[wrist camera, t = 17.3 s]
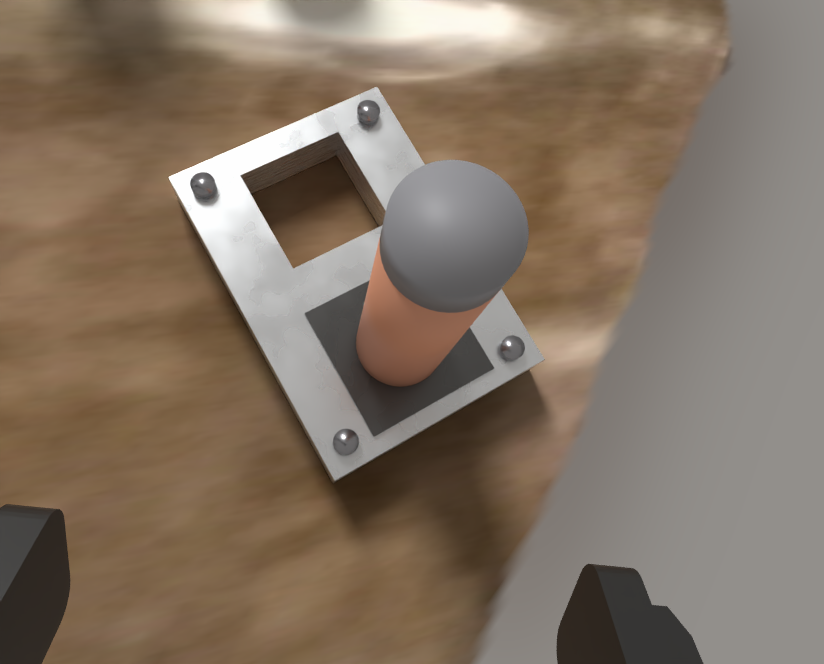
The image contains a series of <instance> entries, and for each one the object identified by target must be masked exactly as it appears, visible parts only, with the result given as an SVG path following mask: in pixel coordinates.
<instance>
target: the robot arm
mask: <svg viewBox="0 0 824 664" xmlns="http://www.w3.org/2000/svg"><path fill="white" fill-rule="evenodd" d="M69 591H70V571H69V561H68V551H67V541H66V531H65V522H64V515H63V513H62V511H61V510H60V509H51V508H41V507H31V506H21V505H10V504H6V505H4V506H2V507H1V508H0V664H42V662H43V660H44V657H45V655H46V653H47V651H48V649H49V647H50V645H51V642H52V640H53V638H54V636H55V634H56V632H57V630H58V627H59V625H60V623H61V621H62V618H63V615H64V612H65V609H66V606H67V602H68V597H69ZM557 660H558V664H703V662H702V659H701V657H700V655H699V652H698V650H697V648H696V645H695V643H694V640H693V638H692V636H691V635H690V634H689V632H688V631H687V630H686V629H685V628H684V626H683V625H682V624H681V623H680V621H679V620H678V619H677V618H676V617H675V615H674V614H673V613H672V612H671V611H670V609H669V608H668V607H667V606H656V605H652V604H651V601H650V599H649V596H648V594H647V591H646V589H645V586H644V584H643V581H642V578H641V576H640V575H639V573H638V572H637V571H636V570H635V569H633V568H625V567H615V566H605V565H595V564H587V565H586V566H585V567H584V568H583V569H582V572H581V574H580V576H579V579H578V581H577V584H576V586H575V589H574V591H573V593H572V596H571V598H570V601H569V603H568V605H567V608H566V610H565V613H564V616H563V618H562V620H561V623H560V626H559V629H558V635H557Z"/></svg>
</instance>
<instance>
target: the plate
mask: <svg viewBox="0 0 824 664" xmlns="http://www.w3.org/2000/svg"><path fill="white" fill-rule="evenodd" d="M334 156H337V157H338V159H339V160H340V162H341V164H342V165H343V167H344V169H345V170H346V172H347V174H348V176H349V177H350V179H351V181H352V182H353V184H354V186H355V187H356V189H357V191H358V192H359V194H360V196H361V197H362V199H363V201H364V202H365V204H366V206H367V208H368V209H369V211H370V213H371V214H372V216H373V218H374V219H375V221H376V223H377V224H378V226H379V227H378V228H376V229H374V230H372V231H370V232H368V233H366V234H364V235H362V236H360V237H358V238H355V239H353V240H351V241H349V242H347V243H345V244H343V245H341V246H339V247H337V248H335V249H333V250H331V251H329V252H327V253H325V254H323V255H321V256H319V257H317V258H315V259H312V260H310V261H308V262H306V263H304V264H302V265H300V266H298V267H296V268H294V269H293V268H292V266H291V264H290V263H289V261H288V259H287V257H286V256H285V254H284V252H283V250H282V248H281V247H280V245H279V243H278V241H277V240H276V238H275V236H274V234H273V233H272V231H271V229H270V227H269V226H268V224H267V222H266V220H265V218H264V217H263V215H262V213H261V211H260V210H259V208H258V206H257V204H256V203H255V201H254V199H253V197H252V195H251V194H253V193H255V192H257V191H259V190H262V189H264V188H266V187H268V186H270V185H273V184H275V183H277V182H279V181H281V180H284V179H286V178H288V177H290V176H292V175H295V174H297V173H299V172H301V171H304V170H306V169H308V168H310V167H312V166H315V165H317V164H319V163H321V162H323V161H326V160H328V159H330V158H332V157H334ZM424 165H425V164H424V162H423V161H422V159H421V158H420V156H419V154H418V153H417V151H416V149H415V148H414V146H413V145H412V143H411V141H410V140H409V138H408V136H407V135H406V133H405V132H404V130H403V128H402V127H401V125H400V123H399V122H398V120H397V119H396V117H395V115H394V114H393V112H392V110H391V109H390V107H389V106H388V104H387V102H386V101H385V99H384V97H383V96H382V94H381V93H380V91H379V89H378V88H377V87H375V88H373V89H371V90H369V91H366V92H364V93H362V94H359V95H357V96H355V97H352V98H350V99H348V100H345V101H343V102H341V103H338V104H336V105H334V106H332V107H329V108H327V109H325V110H322V111H320V112H318V113H315V114H313V115H311V116H308V117H306V118H304V119H302V120H299V121H297V122H295V123H292V124H290V125H288V126H285V127H283V128H281V129H278V130H276V131H274V132H272V133H269V134H267V135H265V136H262V137H260V138H258V139H255V140H253V141H251V142H248V143H246V144H244V145H242V146H239V147H237V148H235V149H232V150H230V151H228V152H225V153H223V154H221V155H218V156H216V157H214V158H212V159H209V160H207V161H205V162H202V163H200V164H198V165H195V166H193V167H191V168H188V169H186V170H184V171H182V172H179V173H177V174H175V175H172V176H170V177H169V180H170V182H171V184H172V187H173V189H174V191H175V194H176V196H177V199H178V201H179V202H180V204H181V206H182V208H183V210H184V212H185V213H186V215H187V217H188V219H189V221H190V223H191V224H192V226H193V228H194V230H195V232H196V234H197V235H198V237H199V239H200V241H201V243H202V245H203V246H204V248H205V250H206V252H207V254H208V256H209V257H210V259H211V261H212V263H213V265H214V267H215V268H216V270H217V272H218V274H219V276H220V278H221V279H222V281H223V283H224V285H225V287H226V288H227V290H228V292H229V294H230V296H231V298H232V299H233V301H234V303H235V305H236V307H237V309H238V310H239V312H240V314H241V316H242V318H243V320H244V321H245V323H246V325H247V327H248V329H249V331H250V332H251V334H252V336H253V338H254V340H255V342H256V343H257V345H258V347H259V349H260V351H261V353H262V354H263V356H264V358H265V360H266V362H267V364H268V365H269V367H270V369H271V371H272V373H273V375H274V376H275V378H276V380H277V382H278V384H279V386H280V387H281V389H282V391H283V393H284V395H285V396H286V398H287V400H288V402H289V404H290V406H291V407H292V409H293V411H294V413H295V415H296V417H297V418H298V420H299V422H300V424H301V426H302V428H303V429H304V431H305V433H306V435H307V437H308V439H309V440H310V442H311V444H312V446H313V448H314V450H315V451H316V453H317V455H318V457H319V459H320V461H321V462H322V464H323V466H324V468H325V470H326V472H327V473H328V475H329V477H330V479H331V481H332V483H334V482H336V481H338V480H340V479H341V478H343V477H345V476H347V475H348V474H350V473H352V472H354V471H355V470H357V469H359V468H360V467H362V466H364V465H366V464H367V463H369V462H371V461H373V460H374V459H376V458H378V457H379V456H381V455H383V454H385V453H386V452H388V451H390V450H392V449H393V448H395V447H397V446H398V445H400V444H402V443H404V442H405V441H407V440H409V439H411V438H412V437H414V436H416V435H417V434H419V433H421V432H423V431H424V430H426V429H428V428H430V427H431V426H433V425H435V424H436V423H438V422H440V421H442V420H443V419H445V418H447V417H449V416H450V415H452V414H454V413H456V412H457V411H459V410H461V409H462V408H464V407H466V406H468V405H469V404H471V403H473V402H475V401H476V400H478V399H480V398H481V397H483V396H485V395H487V394H488V393H490V392H492V391H494V390H495V389H497V388H499V387H500V386H502V385H504V384H506V383H507V382H509V381H511V380H513V379H514V378H516V377H518V376H519V375H521V374H523V373H525V372H526V371H528V370H530V369H531V368H533V367H534V366H536V365H537V364H539V363H540V362H542V361H543V360H545V359H544V358H543V356H542V354H541V353H540V351H539V349H538V348H537V346H536V345H535V343H534V341H533V340H532V338H531V336H530V335H529V333H528V332H527V330H526V328H525V327H524V325H523V323H522V322H521V320H520V319H519V317H518V315H517V314H516V312H515V310H514V309H513V307H512V306H511V304H510V302H509V301H508V299H507V297H506V296H505V294H504V293H503V291H502V289H501V290H500V291H499V292H498V293H497V294H496V296H495V297H494V298H493V299H492V301H491V302H490V303H489V304H488V305H487V307H486V308H485V309H484V310H483V312H482V313H481V314H480V315H479V316H478V318H477V319H476V320H475V321H474V323H473V324H472V325H471V326H470V327H469V329H468V330H467V331H466V332H465V334H464V335H463V336H462V337H461V338H460V340H459V341H458V342H457V343H456V345H455V346H454V347H453V348H452V349H451V351H450V352H449V353H448V354H447V356H446V357H445V358H444V359H443V360H442V362H441V363H440V364H439V365H438V367H437V368H436V369H435V370H434V371H433V372H432V374H431V375H430V376H428V377H427V378H426V379H424V380H423V381H421V382H419V383H417V384H414V385H411V386H403V387H398V386H391V385H387V384H384V383H382V382H380V381H378V380H376V379H375V378H373V377H372V376H371V375H370V374H369V373H368V372H367V371H366V370H365V369H364V367H363V365H362V364H361V362H360V360H359V357H358V354H357V350H356V336H357V332H358V327H359V323H360V319H361V315H362V310H363V306H364V302H365V298H366V293H367V289H368V285H369V281H370V276H371V272H372V268H373V264H374V259H375V255H376V251H377V247H378V242H379V238H380V234H381V230H382V226H383V221H384V217H385V213H386V209H387V205H388V202H389V199H390V197H391V195H392V193H393V191H394V190H395V188H396V187H397V186H398V184H399V183H400V182H401V181H402V180H403V179H404V178H405V177H406V176H407V175H408V174H410V173H411V172H412V171H414V170H416V169H417V168H419V167H421V166H424Z"/></svg>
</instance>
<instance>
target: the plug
mask: <svg viewBox="0 0 824 664" xmlns="http://www.w3.org/2000/svg"><path fill="white" fill-rule="evenodd" d="M527 244H528V221H527V217H526V213H525V210H524V208H523V205H522V203H521V201H520V200H519V198H518V196H517V195H516V193H515V192H514V190H513V189H512V188H511V187H510V186H509V185H508V184H507V183H506V182H505V181H504V180H503V179H502V178H501V177H500V176H498V175H497V174H495V173H494V172H492V171H491V170H489V169H487V168H485V167H483V166H480V165H477V164H475V163H471V162H467V161H460V160H443V161H436V162H432V163H429V164H426V165H424V166H421V167H419V168H417V169H416V170H414V171H412V172H411V173H410V174H408V175H407V176H406V177H405V178H404V179H403V180H402V181H401V182H400V183H399V184H398V186H397V187H396V188H395V190H394V191H393V193H392V195H391V197H390V199H389V202H388V205H387V209H386V213H385V217H384V221H383V226H382V230H381V234H380V238H379V242H378V247H377V251H376V255H375V259H374V264H373V268H372V272H371V276H370V281H369V285H368V289H367V293H366V298H365V302H364V306H363V310H362V315H361V319H360V323H359V327H358V332H357V336H356V350H357V354H358V357H359V360H360V362H361V364H362V365H363V367H364V369H365V370H366V371H367V372H368V373H369V374H370V375H371V376H372V377H373V378H375V379H376V380H378V381H380V382H382V383H384V384H387V385H391V386H398V387H403V386H411V385H414V384H417V383H419V382H421V381H423V380H424V379H426V378H427V377H428V376H430V375H431V374H432V372H433V371H434V370H435V369H436V368H437V367H438V365H439V364H440V363H441V362H442V360H443V359H444V358H445V357H446V356H447V354H448V353H449V352H450V351H451V349H452V348H453V347H454V346H455V345H456V343H457V342H458V341H459V340H460V338H461V337H462V336H463V335H464V334H465V332H466V331H467V330H468V329H469V327H470V326H471V325H472V324H473V323H474V321H475V320H476V319H477V318H478V316H479V315H480V314H481V313H482V312H483V310H484V309H485V308H486V307H487V305H488V304H489V303H490V302H491V301H492V299H493V298H494V297H495V296H496V294H497V293H498V292H499V291H500V290H501V288H502V287H503V286H504V285H505V283H506V282H507V281H508V280H509V279H510V277H511V276H512V275H513V274H514V272H515V271H516V270H517V268H518V267H519V265H520V264H521V262H522V260H523V257H524V255H525V252H526V249H527Z"/></svg>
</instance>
